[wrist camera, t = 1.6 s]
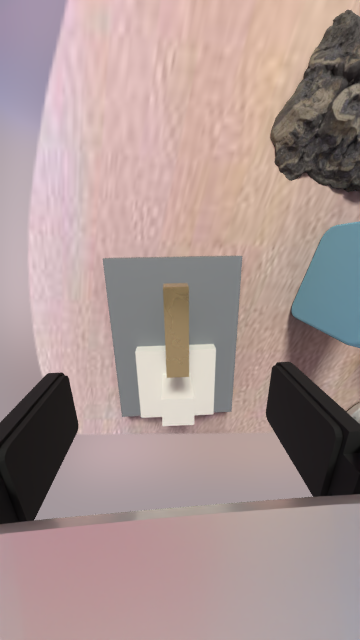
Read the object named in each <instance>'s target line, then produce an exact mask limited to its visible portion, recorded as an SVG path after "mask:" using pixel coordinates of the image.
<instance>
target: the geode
mask: <svg viewBox="0 0 360 640" xmlns="http://www.w3.org/2000/svg"><path fill="white" fill-rule="evenodd" d="M271 140H272V142H273V143H274V146H275V148H276V158H275V164H276V165H277V166H279V170H280V172H281V173H283V174H284V175H285V177H286V178H288V179H289V180H291V181H292V180H294V179H297V178H298V177H300V176H301V175H302V173H304V172H307V173H308V175H309V176H310V177H311V178H313V180H315V181H316V182H318V183H319V184H323V185H328V184H330V185H331V186H332V187H333V188H343V189H344V190H346V191H347V192H349V191H354V190H355V189H356V190H358V191H360V17H359V16H358V15H356V14H355V13H353V12H352V10H347V11H345V13H342V14H340V15H339V16H337V17H336V18H335V19H334V20H333V26H330V27H329V28H328V29H327V30H326V32H325V35H324V37H323V39H322V41H321V42H320V44H319V46H318V47H317V48H316V49H315V51H314V53H313V54H312V56H311V58H310V62H309V68H308V69H306V71H305V73H304V77H303V80H302V81H301V83H300V84H299V85H298V87H297V89H296V91H295V93H294V94H293V96H292V97H291V98H290V99H289V100H288V102H287V103H286V104H285V106H284V108H283V109H282V110H281V112H280V113H279V114H278V116H277V117H276V119H275V122H274V125H273V127H272V131H271Z"/></svg>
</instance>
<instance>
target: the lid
mask: <svg viewBox="0 0 360 640" xmlns="http://www.w3.org/2000/svg"><path fill="white" fill-rule="evenodd" d="M135 355H136V366H137V377H138V389H139V400H140V411H141V418H148V417H162V423H163V426H178V425H194V415H212V414H213V413H214V387H215V361H216V348H215V346H214V344H198V345H189V377H174V378H167V375H166V350H165V346H140V347H137V348H136V351H135Z"/></svg>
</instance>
